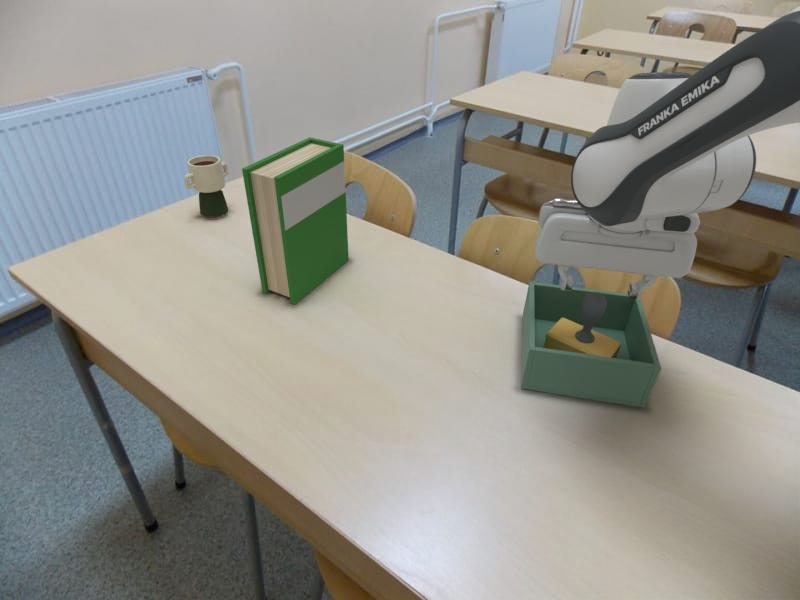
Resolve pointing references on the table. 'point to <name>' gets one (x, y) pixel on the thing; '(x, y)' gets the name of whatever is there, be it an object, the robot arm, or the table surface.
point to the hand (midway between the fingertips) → (599, 292)
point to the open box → (583, 372)
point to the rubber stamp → (583, 331)
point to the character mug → (208, 183)
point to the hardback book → (298, 216)
